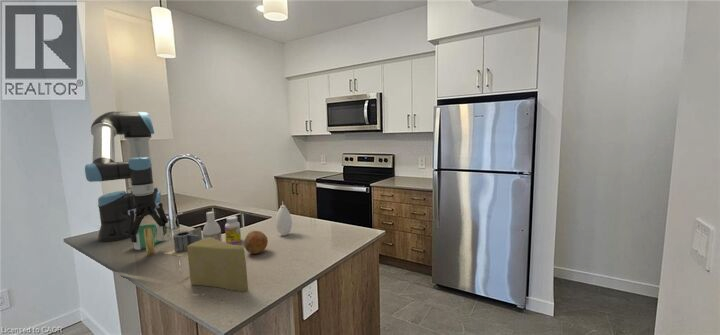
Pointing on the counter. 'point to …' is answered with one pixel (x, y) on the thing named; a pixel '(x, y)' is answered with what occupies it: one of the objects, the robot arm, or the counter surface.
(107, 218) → the robot arm
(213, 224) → the bath foam
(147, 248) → the hinge pin
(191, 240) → the grey piece
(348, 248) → the counter surface
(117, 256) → the counter surface
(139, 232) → the mug
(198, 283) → the cheese
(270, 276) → the counter surface
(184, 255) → the mounting board
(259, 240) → the onion
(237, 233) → the supplement bottle
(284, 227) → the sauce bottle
